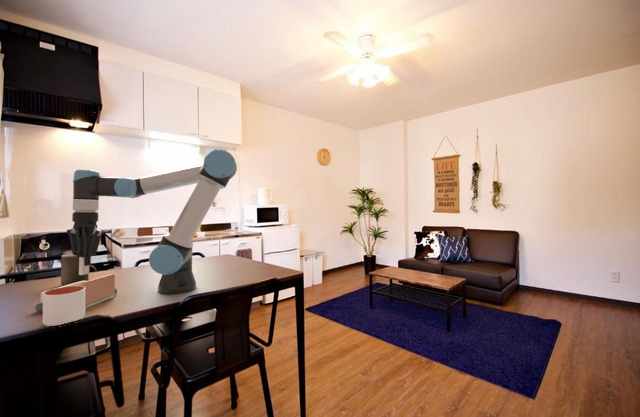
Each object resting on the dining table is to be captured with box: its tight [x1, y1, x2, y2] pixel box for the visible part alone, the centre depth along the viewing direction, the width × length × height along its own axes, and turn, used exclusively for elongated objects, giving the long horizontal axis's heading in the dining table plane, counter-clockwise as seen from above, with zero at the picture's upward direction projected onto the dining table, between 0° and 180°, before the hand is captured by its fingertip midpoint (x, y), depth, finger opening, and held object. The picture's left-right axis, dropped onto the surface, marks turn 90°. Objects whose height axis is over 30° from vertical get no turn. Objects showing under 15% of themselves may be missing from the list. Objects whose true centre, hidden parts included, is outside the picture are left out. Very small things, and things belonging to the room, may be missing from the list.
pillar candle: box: [60, 253, 90, 287], centre depth 131 cm, size 10×10×15 cm
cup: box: [42, 286, 86, 327], centre depth 90 cm, size 10×10×10 cm
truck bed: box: [35, 281, 118, 313], centre depth 107 cm, size 14×21×6 cm, turn 175°
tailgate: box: [81, 273, 116, 305], centre depth 106 cm, size 1×13×8 cm, turn 175°
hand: (84, 274), depth 107 cm, fingers closed
